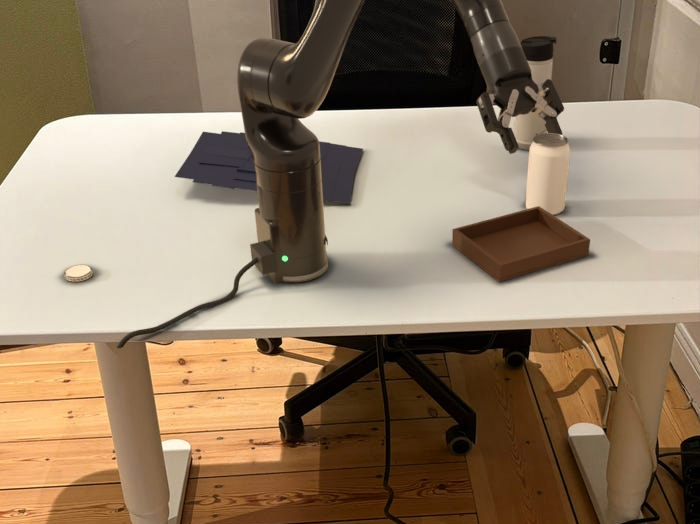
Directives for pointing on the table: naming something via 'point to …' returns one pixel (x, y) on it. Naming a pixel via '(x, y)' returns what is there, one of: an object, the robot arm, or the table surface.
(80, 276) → the cream ridged disc
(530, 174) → the can
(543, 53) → the travel mug
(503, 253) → the tray
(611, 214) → the table surface
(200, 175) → the papers
